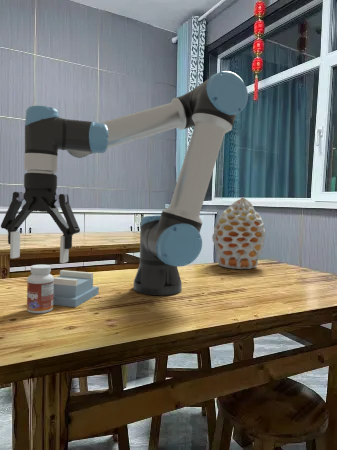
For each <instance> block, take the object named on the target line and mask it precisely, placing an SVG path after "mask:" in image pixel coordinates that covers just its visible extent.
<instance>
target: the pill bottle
mask: <svg viewBox="0 0 337 450" xmlns="http://www.w3.org/2000/svg"><path fill="white" fill-rule="evenodd" d="M29 270H30V273H31V274H29V276H27V280H26V293H27V294H26V310H27V312H29V313H31V314H46V313H49V312H51V311H53V309H54V305H53V289H54V278H53V277H54V276H53V275H52V274H51V270H52V269H51V265H49V264H33V265H31V266H30V269H29Z"/></svg>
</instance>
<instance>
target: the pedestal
mask: <svg viewBox="0 0 337 450" xmlns="http://www.w3.org/2000/svg"><path fill="white" fill-rule="evenodd" d="M53 278H54V289H53V306H62V307H71V308H72V307H73V308H77V307H79V306H80V305H82V304H83V303H85V302H87V301H89V300H90V299H92V298H94V297H96V296H97V295H98V294H100V292H99V291H100V289H99V286H94V272H91V271H90V272H88V271H87V272H86V271H76V270H66V269H65V270H64V269H62V270H59V275H58V276H56V277H54V276H53Z"/></svg>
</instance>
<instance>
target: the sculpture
mask: <svg viewBox="0 0 337 450" xmlns="http://www.w3.org/2000/svg"><path fill="white" fill-rule="evenodd" d="M264 225H265V223H264V221H263V219H262V216H261V215H260V214H259V212H257V211H256V210H255V207H254V205H253V204H252V202H251V201H249V200H248V199H247V198H245V197H241V198H240V199H237V200H236V201H234V202H233V203H232V204H230V205H229V206H228V207H227V208H226V209H225V210H224V211H223V212H222V214H221V215H220V216H219V217H218V219H217V221H216V223H215V224H214V227H213V233H212V237H211V238H212V243H213V244H214V248H215V250H216V253H217V254H218V255H219V258H218V266H220V267H223V268H228V269H233V270H234V269H236V270H244V269H245V270H251V269H253V268H257V266H258V262H259V258H260V256H261V254H262V253H263V251H264V244H265V238H266V229H265V228H264Z"/></svg>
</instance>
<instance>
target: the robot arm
mask: <svg viewBox="0 0 337 450" xmlns="http://www.w3.org/2000/svg"><path fill="white" fill-rule="evenodd" d="M248 91H249V90H248V88H247V86H246V84H245V82H244V80H243V79H242V78H241V77H240V76H239V75H238V74H237V73H236V72H232V71H229V70H228V71H227V70H224V71H219V72H218V73H215V74H212V75H211V76H209V78H207V79H206V80H205V81H203V82H202V83H200V84H199V85H197V86H196V87H195V88H192V89H191V90H190V91H189V92H187V93H184V94H183V95H180V96H177V97H173V98H172V99H171V101H170V102H169V103H165V104H160V105H158V106H155V107H152V108H147V109H145V110H141V111H137V112H134V113H130V114H126V115H123V116H120V117H119V116H118V117H115V118H112V119H109V120H105V121H102V122H96V121H89V120H76V119H67V118H63V117H60V115H59V110H58V109H57V108H55V107H51V106H47V105H31V106H29V107H27V109H26V111H25V121H24V122H25V123H24V158H23V159H24V167H23V169H24V171H26V172H25V174H24V175H23V177H24V178H23V180H24V181H23V187H24V189H25V191H24V193H23V192H22V191H13V193H12V198H11V201H10V204H9V206H8V209H7V210H6V213H5V215H4V217H3V219H2V221H1V224H0V228H1V229H5V230H6V231H7V243H8V245H10V248H9V249H10V250H9V251H10V253H9V256H10V257H9V259H17V258H20V257H21V256H20V255H21V252H20V251H21V231H19V229H20V227H21V226H22V224H23V223H24V222H25V221H26V220H27V218H28V217H29V216H30V214H31V213H33V212H41V213H42V212H45V213H46V212H47V214H48V215H50V217H51V218H52V220H53V221H54V223H55V224H56V225H57V227H58V228H59V230H60V231H61V232H62V235H60V237H59V238H60V242H59V247H60V248H59V263H60V264H65V263H68V262H69V253H70V252H69V251H70V250H71V249H72V248H73V247H72V246H73V236H74V235H76V234H78V233H79V234H80V231H81V230H80V229H81V228H80V227H79V225H78V222H77V220H76V217H75V215H74V212H73V210H72V208H71V205H70V200H69V199H70V197H69V194H66V193H60V194H57V189H58V176H57V174H55V173H57V172H58V155H59V154H58V152H59V150H60V151H67V153H68V154H69V155H70V156H72V157H74V158H78V159H82V158H85V157H87V156H89V155H92V154H104V153H106V152H107V150H108V149H110V148H114V147H118V146H121V145H124V144H127V143H132V142H135V141H136V140H141V139H144V138H149V137H150V136H154V135H157V134H160V133H161V134H162V133H164V132H167V131H170V130H173V129H179V131H181V130H182V131H183V130H186V129H189V128H193V130H192V133H191V136H190V140H189V144H188V145H187V150H186V153H185V156H184V159H183V162H182V165H181V168H180V172H179V175H178V177H177V181H176V184H175V188H174V192H173V195H172V196H171V197H172V198H171V200H170V203H169V206H168V207H167V208H164V209H163V210H161V211H162V212H161V215H160V214H159V215H157V214H156V215H145V216H144V217H142V218H141V220H140V225H139V230H140V234H139V235H140V237H139V239H140V241H139V243H140V244H139V264H138V265H139V266H138V268H137V271H136V274H135V277H134V279H133V291H134V292H137V293H139V294H143V295H151V296H169V295H175V294H179V293H181V291H182V290H183V289H182V285H183V283H182V280H181V279H182V278H181V276H180V273H179V269H178V267H179V268H180V267H185V266H188V265H190V264H192V263H193V262H194V261H196V260H197V258H198V257H199V255H200V254H201V251H202V248H203V239H202V236H201V230H202V226H203V221H202V219H201V217H200V213H201V211H202V208H203V204H204V201H205V197H206V194H207V191H208V188H209V185H210V181H211V178H212V175H213V172H214V168H215V165H216V162H217V160H218V156H219V153H220V149H221V146H222V142H223V139H224V136H225V134H227V133H228V132H230V131H232V129H233V127H234V123H235V120H236V118H237V115H238V114H241V112H242V111H243V110H244V109H245V107H246V106H247V103H248V99H249V93H248ZM23 201H25V203H24V204H23V206H22V203H23ZM56 203H58V204H59V207H60V209H61V212H62V214H63V215H62V214H61V213H60V210H59V208H58V206H57V205H56ZM21 206H22V207H21ZM20 208H21V210H20ZM19 210H20V211H19Z"/></svg>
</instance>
